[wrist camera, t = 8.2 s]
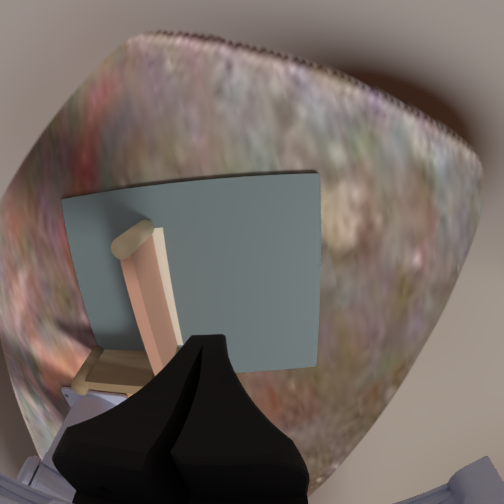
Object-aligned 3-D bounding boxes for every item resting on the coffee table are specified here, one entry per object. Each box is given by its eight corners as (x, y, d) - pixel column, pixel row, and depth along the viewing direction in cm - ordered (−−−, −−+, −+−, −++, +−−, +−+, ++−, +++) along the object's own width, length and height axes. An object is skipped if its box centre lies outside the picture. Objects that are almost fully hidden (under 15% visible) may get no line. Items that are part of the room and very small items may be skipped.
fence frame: (188, 362, 23) (178, 407, 18) (96, 359, 23) (73, 397, 18) (185, 346, 22) (173, 391, 18) (90, 344, 22) (65, 382, 18)
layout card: (315, 363, 24) (316, 366, 23) (108, 367, 24) (106, 370, 23) (318, 172, 19) (320, 173, 19) (63, 198, 19) (60, 199, 18)
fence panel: (180, 344, 22) (168, 382, 18) (165, 345, 22) (152, 382, 18) (152, 218, 19) (128, 236, 15) (135, 220, 19) (108, 239, 15)
